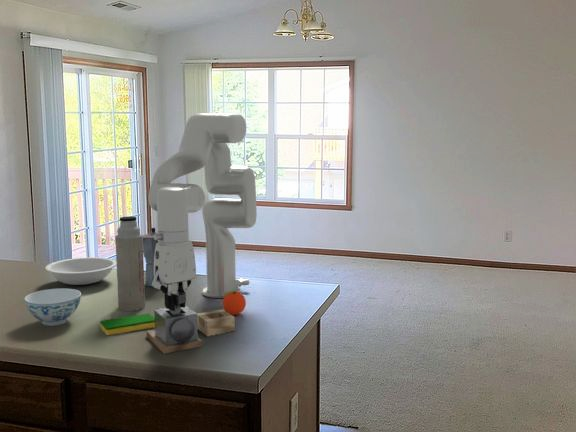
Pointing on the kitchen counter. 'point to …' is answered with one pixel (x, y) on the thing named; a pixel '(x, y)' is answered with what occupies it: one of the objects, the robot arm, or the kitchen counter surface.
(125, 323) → the dish sponge
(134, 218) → the thermos bottle
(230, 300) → the clementine
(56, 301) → the chinaware
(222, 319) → the wooden square frame
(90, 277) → the soup bowl
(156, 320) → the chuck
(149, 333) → the board
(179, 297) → the chuck key
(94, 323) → the kitchen counter surface
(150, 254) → the moka pot
